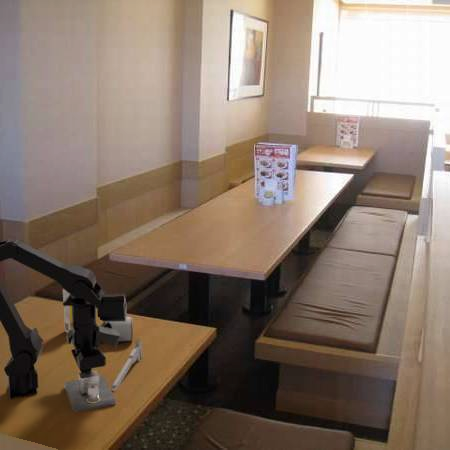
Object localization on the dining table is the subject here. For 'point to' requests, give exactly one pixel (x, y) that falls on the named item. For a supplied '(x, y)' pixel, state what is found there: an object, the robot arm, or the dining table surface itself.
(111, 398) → the plate
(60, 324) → the dining table surface
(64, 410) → the dining table surface
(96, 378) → the block
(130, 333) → the ceramic mug
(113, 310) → the robot arm
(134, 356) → the caliper
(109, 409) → the dining table surface
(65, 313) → the beer can
